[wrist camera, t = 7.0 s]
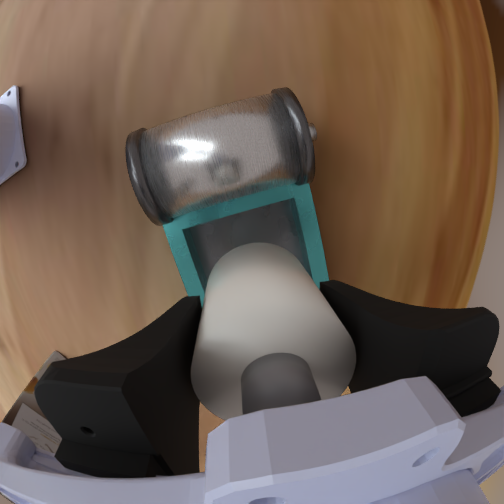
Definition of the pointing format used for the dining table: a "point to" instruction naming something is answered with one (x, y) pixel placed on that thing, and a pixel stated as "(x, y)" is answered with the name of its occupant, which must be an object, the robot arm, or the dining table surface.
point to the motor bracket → (230, 183)
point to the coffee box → (34, 415)
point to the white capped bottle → (267, 336)
